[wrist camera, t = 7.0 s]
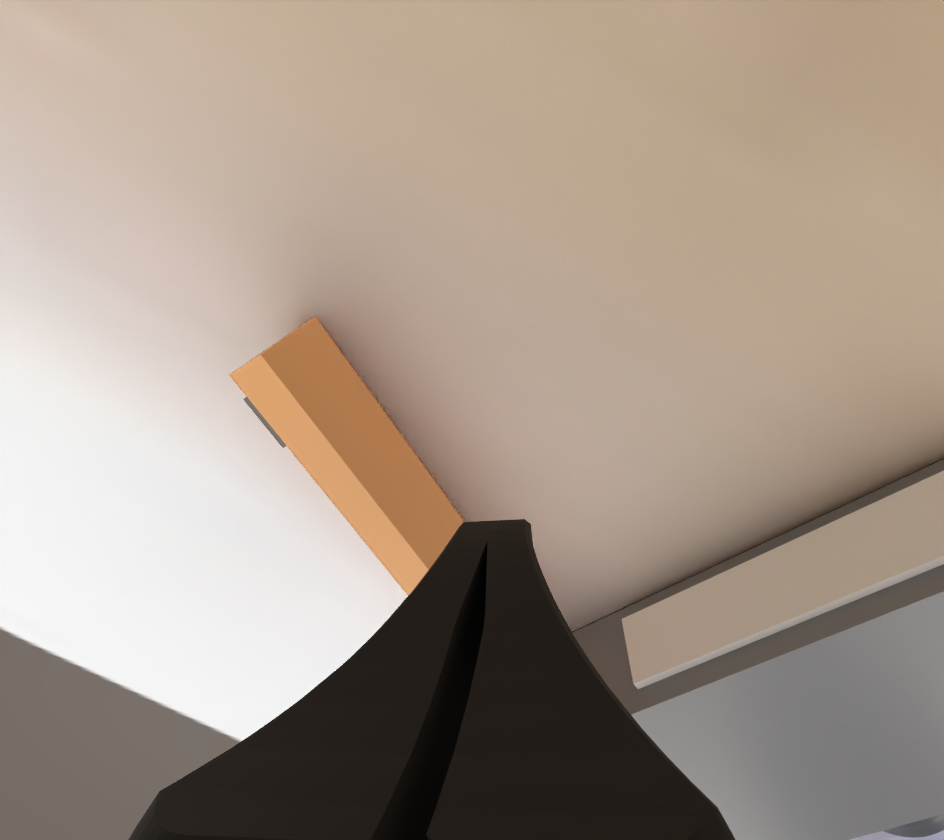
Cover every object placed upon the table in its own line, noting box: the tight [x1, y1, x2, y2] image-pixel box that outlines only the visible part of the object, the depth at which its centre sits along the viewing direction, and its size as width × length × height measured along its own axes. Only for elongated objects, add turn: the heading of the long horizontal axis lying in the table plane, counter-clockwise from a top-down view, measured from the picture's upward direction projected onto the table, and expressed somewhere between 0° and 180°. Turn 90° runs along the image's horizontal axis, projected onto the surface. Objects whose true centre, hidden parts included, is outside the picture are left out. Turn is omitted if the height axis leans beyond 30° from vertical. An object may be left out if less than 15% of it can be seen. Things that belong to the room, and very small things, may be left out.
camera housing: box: [572, 459, 944, 840], centre depth 18 cm, size 10×14×4 cm
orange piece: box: [230, 316, 464, 596], centre depth 17 cm, size 2×14×4 cm, turn 33°
